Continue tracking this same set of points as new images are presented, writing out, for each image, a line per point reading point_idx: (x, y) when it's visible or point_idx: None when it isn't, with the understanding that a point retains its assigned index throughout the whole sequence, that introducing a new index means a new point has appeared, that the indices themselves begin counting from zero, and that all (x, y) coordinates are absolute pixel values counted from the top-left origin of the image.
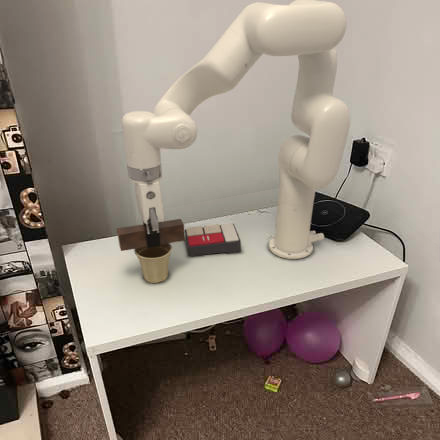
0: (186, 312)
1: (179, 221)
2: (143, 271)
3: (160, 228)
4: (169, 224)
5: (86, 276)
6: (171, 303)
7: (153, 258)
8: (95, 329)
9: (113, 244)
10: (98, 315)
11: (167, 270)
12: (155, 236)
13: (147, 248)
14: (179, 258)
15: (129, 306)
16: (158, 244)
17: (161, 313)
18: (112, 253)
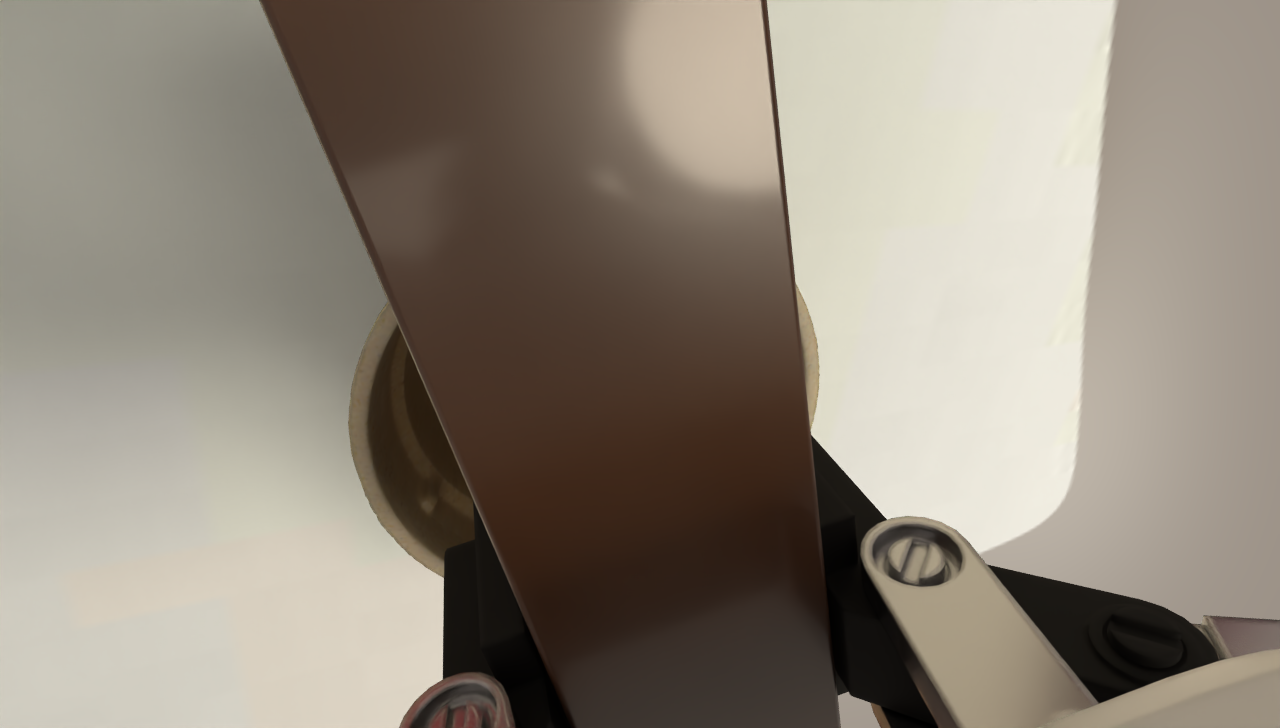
0: (1032, 27)
1: (514, 44)
2: None
3: (816, 526)
4: (696, 365)
5: None
6: (904, 145)
7: (817, 395)
8: (983, 525)
9: (22, 687)
10: None
11: None
12: (872, 525)
13: (434, 468)
14: (181, 60)
15: (860, 412)
16: None
17: (981, 213)
18: (191, 653)
